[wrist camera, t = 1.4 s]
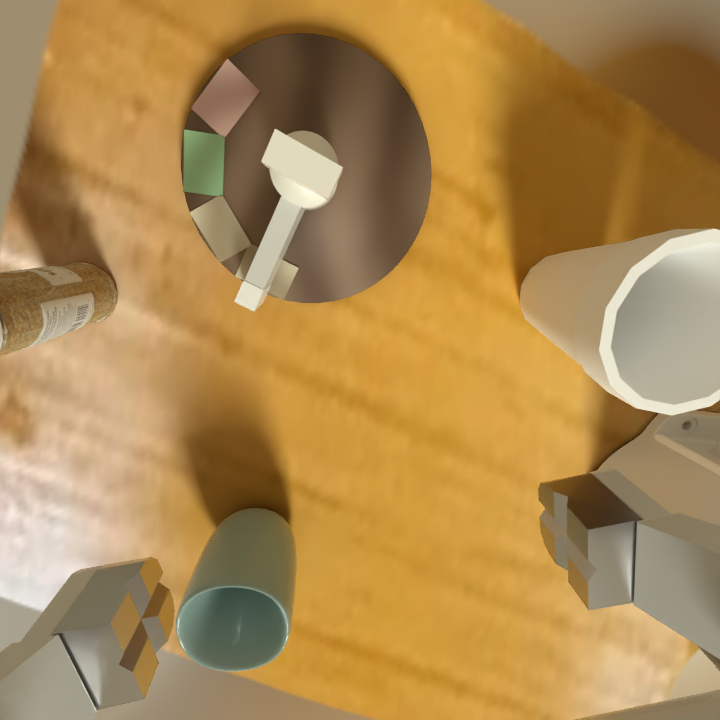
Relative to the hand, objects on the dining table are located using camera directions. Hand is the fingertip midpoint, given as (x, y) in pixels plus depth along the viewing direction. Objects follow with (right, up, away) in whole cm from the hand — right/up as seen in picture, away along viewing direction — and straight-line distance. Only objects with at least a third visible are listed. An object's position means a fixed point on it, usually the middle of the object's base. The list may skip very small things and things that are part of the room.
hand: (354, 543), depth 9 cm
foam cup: (+16, +9, +25) cm, 31 cm away
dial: (-3, +17, +21) cm, 27 cm away
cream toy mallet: (-5, +13, +20) cm, 25 cm away
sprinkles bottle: (-20, +9, +22) cm, 31 cm away
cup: (-9, -12, +29) cm, 33 cm away
